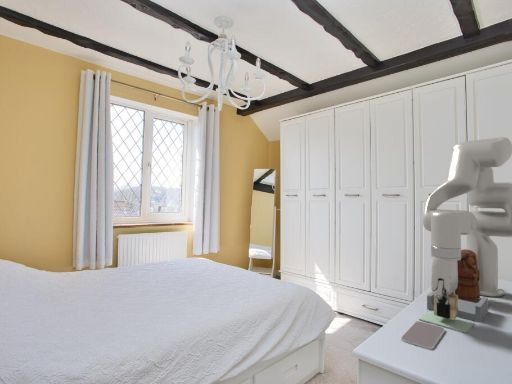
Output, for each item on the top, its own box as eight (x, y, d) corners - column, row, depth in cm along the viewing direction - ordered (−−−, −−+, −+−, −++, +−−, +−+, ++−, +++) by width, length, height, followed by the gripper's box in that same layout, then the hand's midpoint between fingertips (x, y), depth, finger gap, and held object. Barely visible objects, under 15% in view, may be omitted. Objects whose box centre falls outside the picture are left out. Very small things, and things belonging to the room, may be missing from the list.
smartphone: (399, 338, 76) (416, 320, 87) (399, 342, 76) (416, 323, 87) (432, 348, 71) (445, 328, 82) (432, 352, 71) (445, 331, 82)
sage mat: (428, 312, 95) (428, 310, 95) (474, 323, 86) (474, 322, 86) (418, 319, 89) (418, 318, 89) (467, 333, 80) (467, 331, 80)
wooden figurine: (473, 305, 101) (472, 252, 101) (451, 300, 106) (451, 250, 106) (483, 298, 108) (482, 249, 108) (462, 294, 113) (462, 246, 113)
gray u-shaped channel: (437, 300, 106) (437, 287, 106) (487, 311, 96) (487, 297, 96) (427, 309, 97) (427, 295, 98) (480, 322, 87) (480, 307, 87)
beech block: (439, 310, 91) (438, 291, 91) (458, 315, 88) (458, 295, 88) (434, 315, 88) (433, 294, 88) (453, 320, 84) (453, 299, 84)
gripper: (439, 248, 96) (440, 304, 96) (422, 254, 85) (422, 318, 84) (467, 251, 91) (467, 310, 91) (453, 259, 79) (453, 327, 79)
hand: (446, 313), depth 88 cm, fingers closed on beech block, 4 cm apart
